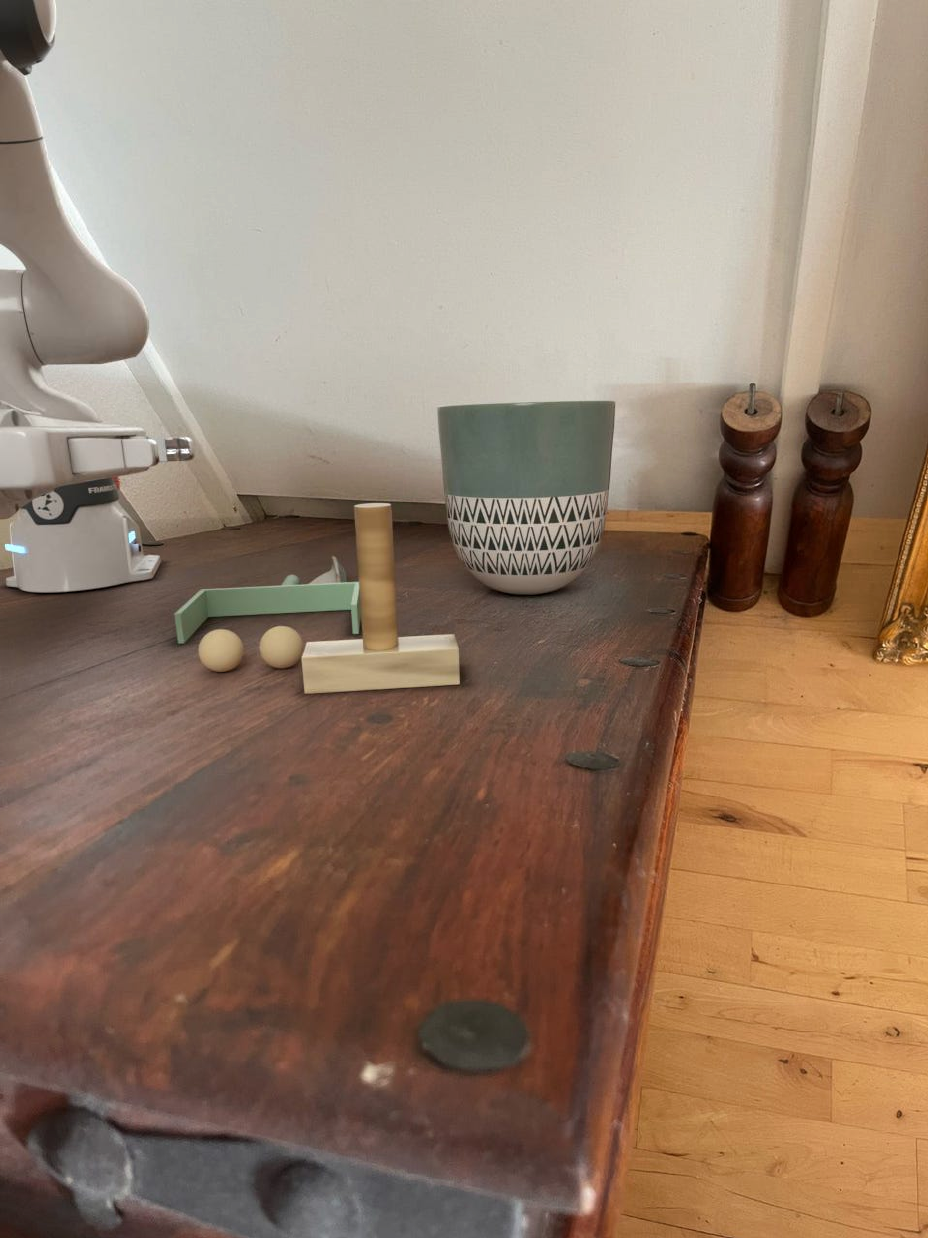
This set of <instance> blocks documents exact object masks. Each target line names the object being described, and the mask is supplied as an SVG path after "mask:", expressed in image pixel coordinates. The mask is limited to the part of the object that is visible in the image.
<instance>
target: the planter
mask: <svg viewBox="0 0 928 1238" xmlns="http://www.w3.org/2000/svg"><path fill="white" fill-rule="evenodd" d="M436 413H437V414H436V415H437V417H436V418H437V428H438V429H437V430H438V440H439V449H440V457H441V458H440V461H441V471H442V474H441V475H442V484H443V492H444V493H443V494H444V505H445V513H446V522H447V528H448V533H449V536H450V540H451V542H452V545H453V548H454V550H455V553H456V555H457V557H458V559H459V560H460V562H461V564H463V566H464V567H465V569H466V570H467V571H468V572H469V573H470V574H471V575H472V576H473V577H475V579H477V580H478V581H479V582H481V583H482V584H483V585H485V586H487V587H488V588H490V589H492V590H495V591H498V592H501V593H505V594H511V595H519V596H520V595H526V596H531V595H541V594H547V593H551V592H554V591H557V590H559V589H562V588H564V587H566V586H567V585H569V584H571V583H572V582H573V581H575V579H577V578H578V577H579V576H580V575H581V574H583V572H584V571H585V570H586V569H587V568H588V566H589V565H590V564H591V563H592V561H593V560H594V558H595V556H596V555H597V553H598V551H599V548H600V547H601V543H602V540H603V538H604V537H603V536H604V532H605V528H606V524H607V516H608V508H609V495H610V494H609V493H610V486H611V485H610V484H611V483H610V482H611V473H612V471H611V469H612V457H613V446H614V445H613V444H614V432H615V418H616V401H615V400H561V401H560V400H557V401H555V400H554V401H522V402H521V401H520V402H495V403H494V402H493V403H492V402H491V403H471V404H470V403H469V404H468V403H467V404H451V405H439V406H437V407H436Z"/></svg>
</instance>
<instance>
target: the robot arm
mask: <svg viewBox="0 0 928 1238" xmlns="http://www.w3.org/2000/svg"><path fill="white" fill-rule="evenodd" d="M56 26H57V3H56V0H0V245H1V246H3V247H4V248H6V250H9V251H10V252H11V253H12V254H13V256H15V257H16V258H17V259H18V260H19V261H20V262H21V263H22V265H23V266H24V268H25V269H5V268H3V269H2V268H1V269H0V520H7V519H10V518H12V517H14V515H16V514H17V515H16V517H15V518H14V519H13V520H11V521H12V522H11V523H10V524H9V537H10V544H9V543H5V544H4V547H5V550H6V551H9V552H11V556H12V557H11V558H12V565H13V575H12V576H9V577H6V578H5V585H6V587H11V588H18V590H20V591H24V592H27V593H67V592H78V591H87V590H95V589H96V590H97V589H101V588H102V589H103V588H108V587H113V586H117V585H122V584H126V583H127V584H128V583H134V582H140V581H146V580H151V579H153V578H154V576H155V575H156V572H157V571H158V569H159V567H160V565H161V563H162V559H161V556H160V555H157V554H155V555H154V554H144V548H143V540H142V534H141V530H140V526H139V525H138V524H137V522H136V521H135V520H134V519H133V518H132V517H131V515H130V514H129V513H128V512H127V511H126V510H125V509H124V508H123V507H122V505H121V504H120V502H119V500H120V495H119V490H120V489H121V480H120V478H119V477H123V476H128V475H129V476H130V475H134V474H139V473H144V472H147V471H148V470H150V468H151V467H155V466H157V465H158V464H159V463H168V462H188V461H192V460H194V458H195V455H196V451H195V445H194V440H193V439H192V438H191V437H188V436H175V437H174V436H173V437H169V436H168V437H167V436H153V435H147V432H146V430H145V429H144V428H142V427H139V426H136V425H127V424H120V423H119V424H118V423H106V422H102V419H101V418H100V416H99V415H98V413H97V412H96V411H95V409H93V407H91V406H90V405H89V404H87V403H86V402H84V401H82V400H80V399H78V398H77V397H74V396H72V395H70V394H67V393H65V392H62V391H60V390H58V389H56V388H53V387H52V386H50V384H49V383H48V381H47V380H46V378H45V376H44V372H43V367H44V366H47V365H48V366H49V365H50V366H51V365H56V366H57V365H59V366H61V365H62V366H63V365H105V364H108V363H109V364H110V363H114V362H120V361H124V360H128V359H133V358H136V357H137V356H138V355H139V354H141V352H142V351H143V349H144V347H145V346H146V344H147V341H148V338H149V335H150V334H149V333H150V318H149V313H148V309H147V307H146V304H145V302H144V300H143V298H142V296H141V295H140V293H139V292H138V290H137V289H136V288H135V287H134V286H133V285H132V283H130V282H129V281H128V280H127V279H125V278H124V277H122V276H121V275H120V274H118V273H116V272H115V271H113V270H112V269H111V268H109V267H108V266H106V264H104V262H102V261H101V260H100V259H99V258H98V257H97V256H96V255H95V254H94V253H93V252H92V251H91V250H90V249H89V247H88V246H87V245H86V244H85V243H84V241H83V240H82V238H81V237H80V235H78V233H77V231H76V230H75V228H74V225H72V223H71V220H70V218H69V217H68V214H67V212H66V210H65V207H64V205H63V201H62V198H61V195H60V192H59V189H58V186H57V183H56V179H55V176H54V172H53V169H52V164H51V161H50V156H49V152H48V149H47V144H46V140H45V136H44V132H43V127H42V124H41V120H40V116H39V112H38V109H37V107H36V103H35V99H34V96H33V92H32V90H31V87H30V84H29V81H28V78H27V76H28V75H30V74H32V71H33V66H34V65H37V64H39V63H41V62H44V60H45V59H46V58H47V56H48V55H49V54H50V52H51V51H52V49H53V48H54V46H55V40H56V28H57V27H56Z"/></svg>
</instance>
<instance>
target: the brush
mask: <svg viewBox="0 0 928 1238" xmlns="http://www.w3.org/2000/svg"><path fill="white" fill-rule="evenodd" d="M392 511H393V510H392V504H391V503H387V502H369V503H368V502H367V503H358V504H355V505H353V514H354V529H355V545H356V547H355V548H356V561H357V574H358V575H357V576H358V582H359V592H360V607H361V621H360V623H361V634H362V635H361V637H362V638H360V639H342V640H323V641H322V640H321V641H307V642H306V644H305V646H304V648H303V652H302V655H301V657H300V659H301V669H302V680H303V689H304V690H303V692H304V695H311V694H329V693H342V692H343V693H344V692H357V691H358V692H360V691H377V690H391V689H407V688H408V689H409V688H423V687H425V688H427V687H440V686H457V685H458V686H459V685H460V684H461V675H460V672H461V671H460V669H461V668H460V648H459V644H458V641H457V639H456V635H455V634H454V633H452V634H451V633H449V634H429V635H416V636H415V635H412V636H399V625H398V606H397V603H398V602H397V587H396V585H397V583H396V571H395V570H396V569H395V567H396V566H395V549H394V530H393V529H394V528H393V512H392Z"/></svg>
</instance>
